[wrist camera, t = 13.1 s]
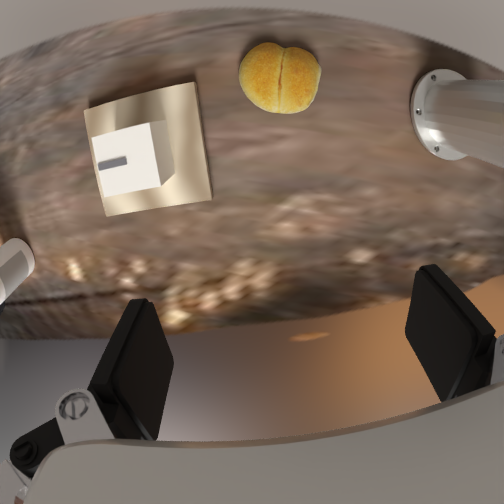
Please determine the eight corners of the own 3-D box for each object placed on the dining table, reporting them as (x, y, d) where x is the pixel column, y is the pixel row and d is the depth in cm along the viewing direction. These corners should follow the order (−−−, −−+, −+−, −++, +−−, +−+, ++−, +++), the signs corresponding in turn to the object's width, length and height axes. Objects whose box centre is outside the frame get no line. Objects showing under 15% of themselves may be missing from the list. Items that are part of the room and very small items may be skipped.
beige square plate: (196, 82, 31) (186, 77, 26) (213, 196, 37) (207, 212, 32) (89, 110, 32) (64, 112, 26) (110, 212, 38) (91, 229, 33)
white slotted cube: (165, 119, 32) (148, 122, 26) (175, 173, 35) (160, 186, 29) (115, 131, 32) (90, 137, 26) (125, 182, 35) (103, 197, 29)
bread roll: (244, 41, 29) (244, 33, 26) (321, 55, 30) (329, 49, 27) (233, 106, 33) (231, 106, 29) (309, 119, 34) (317, 121, 30)
